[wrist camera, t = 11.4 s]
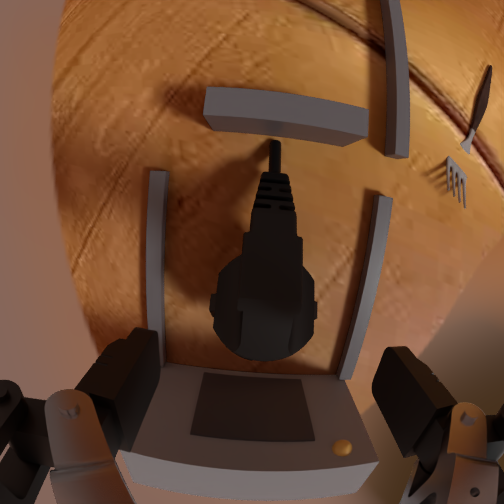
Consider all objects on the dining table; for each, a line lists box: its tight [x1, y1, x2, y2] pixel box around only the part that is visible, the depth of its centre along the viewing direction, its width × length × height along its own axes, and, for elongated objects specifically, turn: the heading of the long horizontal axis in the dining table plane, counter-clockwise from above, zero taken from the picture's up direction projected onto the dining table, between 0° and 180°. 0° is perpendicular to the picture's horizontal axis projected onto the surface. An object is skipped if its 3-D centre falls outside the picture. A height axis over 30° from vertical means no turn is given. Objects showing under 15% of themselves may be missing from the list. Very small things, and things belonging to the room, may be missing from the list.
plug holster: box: [203, 0, 410, 159], centre depth 12 cm, size 17×12×4 cm
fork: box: [446, 65, 492, 209], centre depth 15 cm, size 3×16×2 cm, turn 149°
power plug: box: [209, 140, 317, 361], centre depth 16 cm, size 6×8×12 cm
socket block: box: [120, 171, 393, 501], centre depth 14 cm, size 18×15×9 cm
